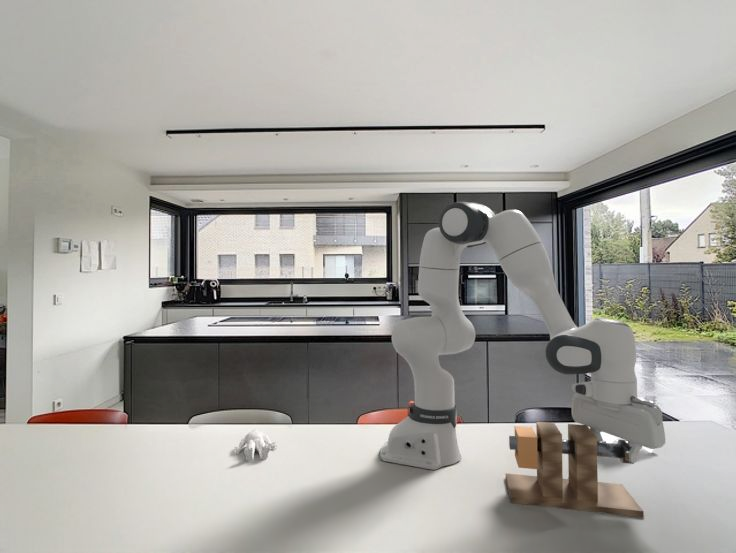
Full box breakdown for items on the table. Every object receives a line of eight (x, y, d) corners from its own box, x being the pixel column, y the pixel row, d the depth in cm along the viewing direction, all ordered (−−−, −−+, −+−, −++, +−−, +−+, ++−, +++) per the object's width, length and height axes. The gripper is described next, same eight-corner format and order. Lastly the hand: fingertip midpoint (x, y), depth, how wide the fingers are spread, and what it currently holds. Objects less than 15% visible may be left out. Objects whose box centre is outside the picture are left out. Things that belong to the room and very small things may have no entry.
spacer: (518, 467, 94) (518, 436, 94) (514, 455, 101) (514, 426, 101) (537, 469, 93) (537, 437, 93) (532, 456, 100) (532, 427, 100)
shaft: (510, 457, 96) (510, 435, 96) (508, 448, 100) (508, 428, 100) (635, 467, 90) (635, 445, 90) (627, 458, 95) (626, 437, 95)
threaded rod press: (511, 502, 92) (510, 434, 92) (505, 478, 104) (505, 417, 104) (643, 517, 86) (642, 443, 87) (622, 489, 98) (621, 424, 98)
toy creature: (234, 449, 112) (233, 425, 123) (233, 469, 113) (233, 443, 124) (279, 444, 116) (275, 420, 127) (279, 463, 117) (274, 438, 128)
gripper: (671, 402, 85) (673, 471, 84) (585, 381, 104) (586, 437, 103) (650, 405, 82) (652, 476, 82) (566, 383, 101) (567, 441, 101)
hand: (615, 454), depth 93 cm, fingers open, 6 cm apart
